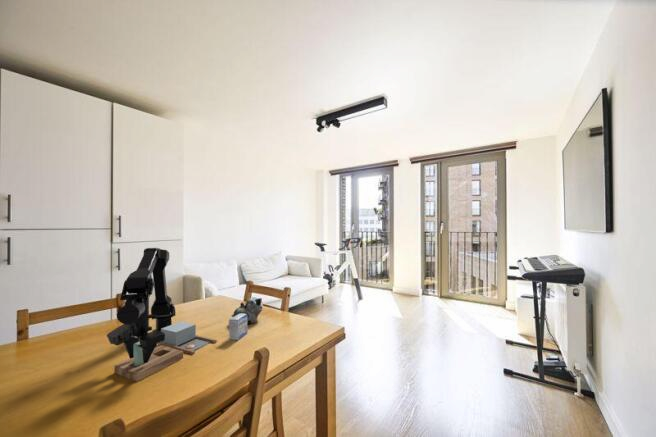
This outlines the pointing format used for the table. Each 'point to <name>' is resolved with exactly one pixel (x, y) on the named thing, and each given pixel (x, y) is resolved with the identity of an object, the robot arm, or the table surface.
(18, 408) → the table surface
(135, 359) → the teal peg
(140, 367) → the board
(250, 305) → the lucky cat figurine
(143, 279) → the robot arm
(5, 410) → the table surface
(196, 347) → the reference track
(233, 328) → the medicine box
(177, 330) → the cover
